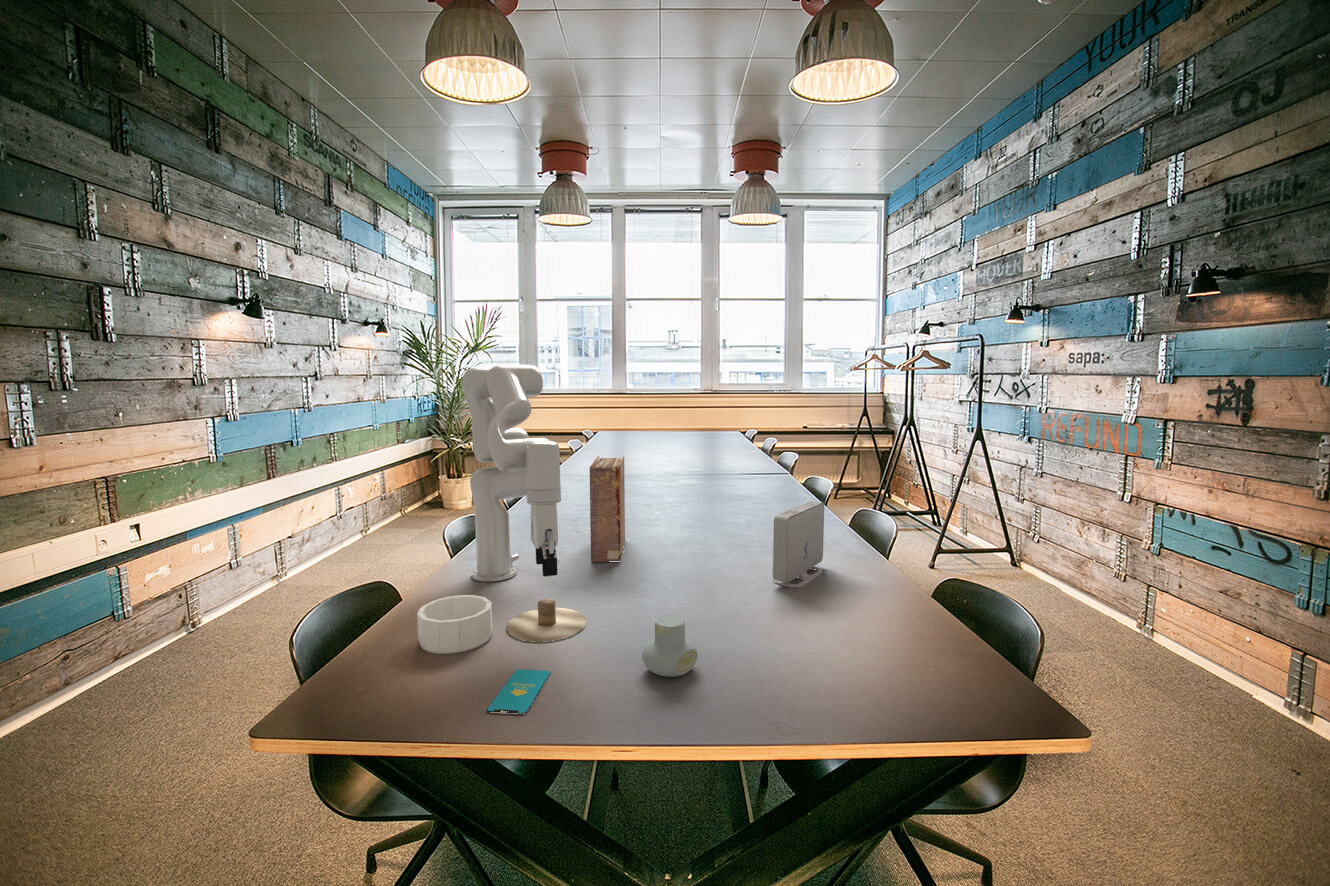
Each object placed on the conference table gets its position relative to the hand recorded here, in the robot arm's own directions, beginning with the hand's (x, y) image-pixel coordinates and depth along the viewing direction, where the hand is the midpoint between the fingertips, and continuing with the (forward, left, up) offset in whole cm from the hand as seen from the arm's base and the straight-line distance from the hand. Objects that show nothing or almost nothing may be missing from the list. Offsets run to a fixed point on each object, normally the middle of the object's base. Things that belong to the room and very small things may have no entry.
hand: (546, 569), depth 136 cm
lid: (0, 0, -14) cm, 14 cm away
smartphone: (+27, +11, -14) cm, 32 cm away
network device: (-54, +50, -14) cm, 75 cm away
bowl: (+13, -15, -14) cm, 24 cm away
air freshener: (+10, +34, -14) cm, 38 cm away
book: (-58, -12, -14) cm, 61 cm away
